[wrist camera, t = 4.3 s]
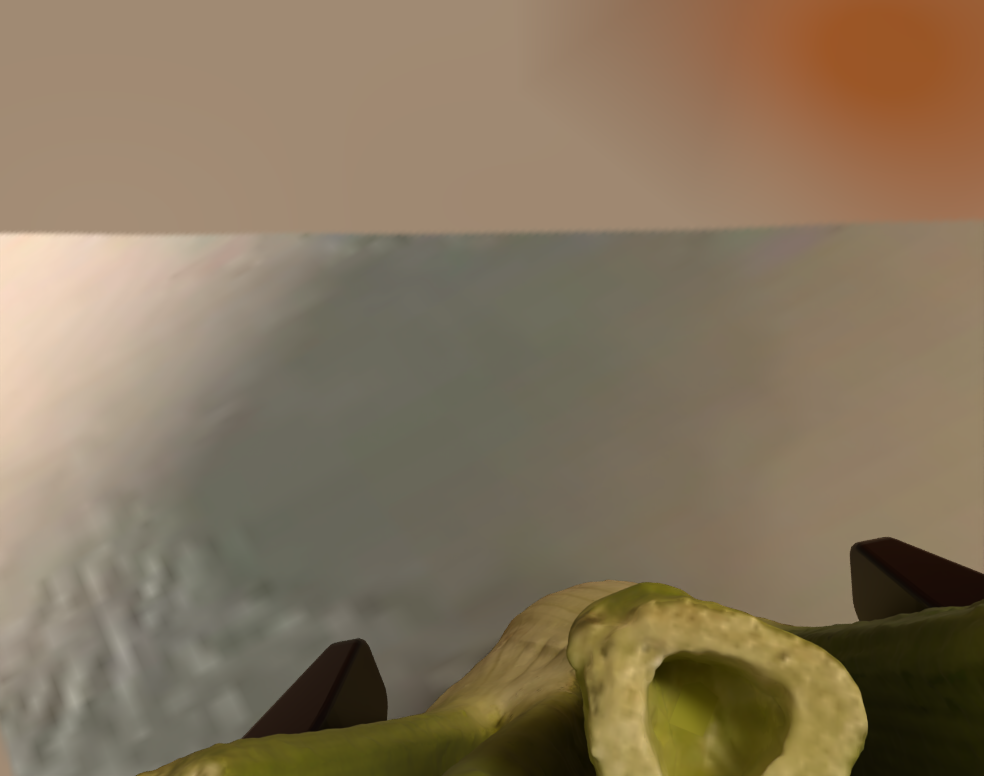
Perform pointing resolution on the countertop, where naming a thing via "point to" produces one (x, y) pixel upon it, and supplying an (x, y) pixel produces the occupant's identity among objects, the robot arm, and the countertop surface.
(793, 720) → the fennel bulb
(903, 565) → the robot arm
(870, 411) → the countertop surface
